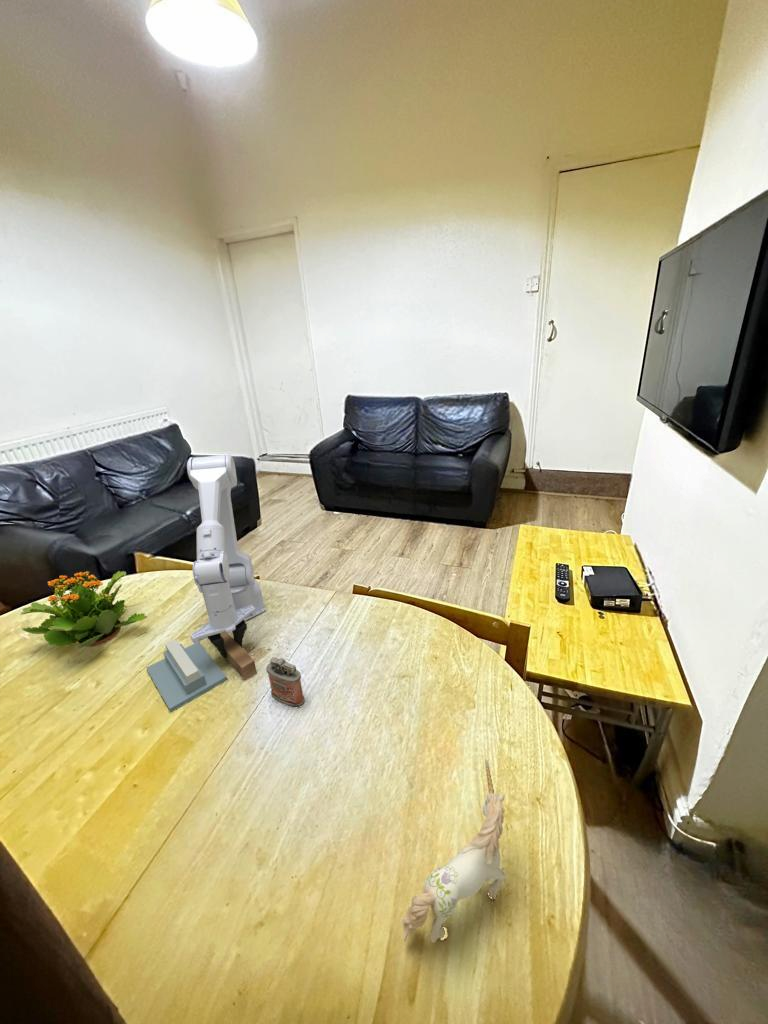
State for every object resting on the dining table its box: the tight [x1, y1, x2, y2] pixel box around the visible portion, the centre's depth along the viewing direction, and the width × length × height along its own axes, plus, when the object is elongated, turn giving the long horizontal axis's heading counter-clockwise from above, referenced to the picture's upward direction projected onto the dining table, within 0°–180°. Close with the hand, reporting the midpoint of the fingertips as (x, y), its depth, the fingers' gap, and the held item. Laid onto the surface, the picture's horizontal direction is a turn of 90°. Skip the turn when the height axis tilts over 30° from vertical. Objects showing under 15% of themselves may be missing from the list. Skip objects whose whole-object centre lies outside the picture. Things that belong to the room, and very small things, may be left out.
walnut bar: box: [209, 632, 258, 682], centre depth 97 cm, size 18×3×4 cm, turn 44°
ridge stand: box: [145, 638, 228, 713], centre depth 92 cm, size 16×12×6 cm
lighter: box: [265, 656, 306, 708], centre depth 84 cm, size 8×3×10 cm, turn 62°
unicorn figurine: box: [401, 758, 506, 944], centre depth 53 cm, size 7×20×13 cm, turn 137°
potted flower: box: [20, 570, 148, 649], centre depth 103 cm, size 25×24×18 cm
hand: (231, 652), depth 97 cm, fingers closed on walnut bar, 3 cm apart
